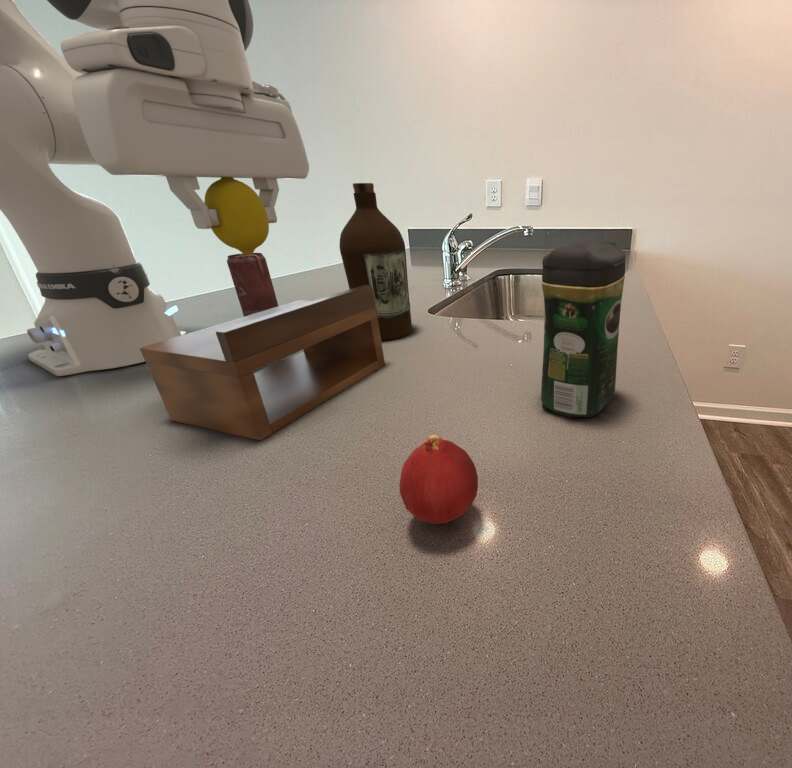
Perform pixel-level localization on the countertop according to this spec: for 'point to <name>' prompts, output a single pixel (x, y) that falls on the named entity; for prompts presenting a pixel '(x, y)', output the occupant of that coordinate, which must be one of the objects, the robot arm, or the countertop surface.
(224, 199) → the lemon
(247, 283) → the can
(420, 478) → the onion
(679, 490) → the countertop surface
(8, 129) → the robot arm
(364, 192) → the olive oil
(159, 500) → the countertop surface
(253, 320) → the shelf
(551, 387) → the coffee jar
